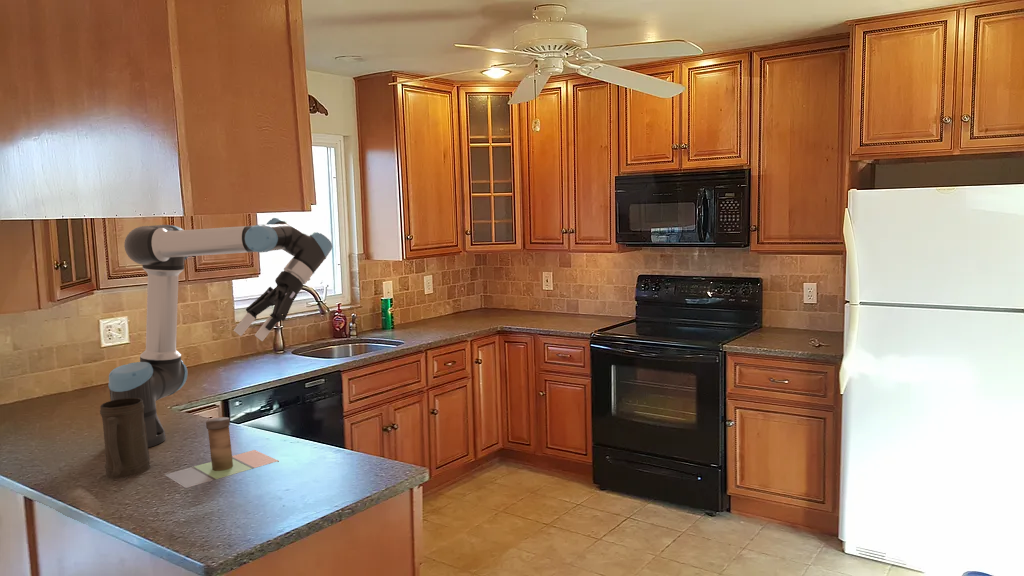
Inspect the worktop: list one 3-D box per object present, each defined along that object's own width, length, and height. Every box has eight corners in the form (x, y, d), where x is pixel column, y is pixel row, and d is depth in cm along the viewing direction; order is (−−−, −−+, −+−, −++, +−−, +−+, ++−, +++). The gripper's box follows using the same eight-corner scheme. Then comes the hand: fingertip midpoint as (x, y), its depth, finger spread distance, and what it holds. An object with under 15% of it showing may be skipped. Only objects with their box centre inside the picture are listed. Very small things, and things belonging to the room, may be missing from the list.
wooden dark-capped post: (207, 468, 186) (202, 421, 185) (228, 462, 190) (223, 416, 189) (216, 472, 182) (211, 424, 181) (238, 466, 186) (233, 419, 185)
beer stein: (109, 471, 191) (100, 399, 188) (154, 464, 195) (146, 393, 191) (99, 495, 177) (89, 417, 173) (148, 487, 181) (139, 411, 177)
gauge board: (164, 479, 183) (164, 474, 183) (255, 454, 200) (254, 449, 200) (186, 493, 173) (185, 487, 173) (279, 465, 190) (278, 460, 190)
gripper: (323, 288, 205) (277, 348, 196) (282, 283, 222) (238, 338, 214) (305, 271, 200) (257, 332, 192) (264, 268, 218) (219, 323, 209)
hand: (247, 335), depth 203 cm, fingers open, 13 cm apart
